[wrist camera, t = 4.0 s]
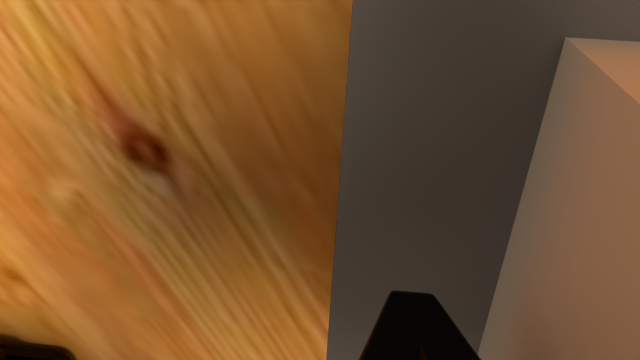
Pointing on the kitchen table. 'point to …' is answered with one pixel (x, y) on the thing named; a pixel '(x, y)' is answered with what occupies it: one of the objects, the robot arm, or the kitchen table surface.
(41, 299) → the kitchen table surface
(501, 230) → the stand
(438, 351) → the robot arm
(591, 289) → the carton
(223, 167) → the kitchen table surface
